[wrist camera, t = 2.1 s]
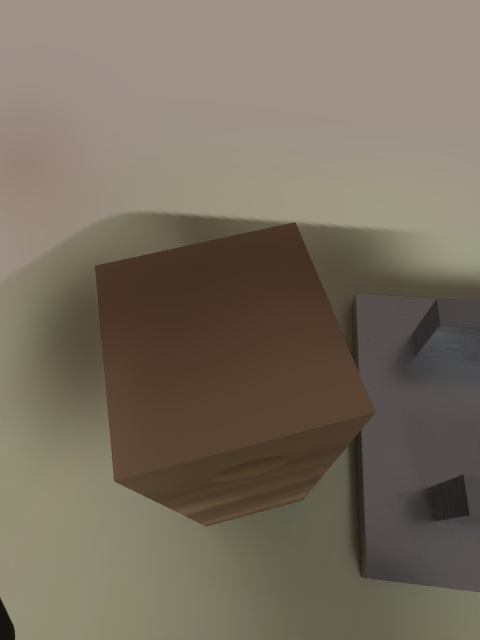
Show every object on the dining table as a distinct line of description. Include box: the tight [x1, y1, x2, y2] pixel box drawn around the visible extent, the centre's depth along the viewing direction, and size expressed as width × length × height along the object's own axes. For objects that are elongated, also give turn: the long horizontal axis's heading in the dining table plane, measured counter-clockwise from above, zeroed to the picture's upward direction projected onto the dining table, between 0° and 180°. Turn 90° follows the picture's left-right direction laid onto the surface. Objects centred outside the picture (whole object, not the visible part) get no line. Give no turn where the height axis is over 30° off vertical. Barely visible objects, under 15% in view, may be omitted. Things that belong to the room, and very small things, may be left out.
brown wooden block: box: [95, 222, 376, 526], centre depth 12 cm, size 4×4×12 cm
